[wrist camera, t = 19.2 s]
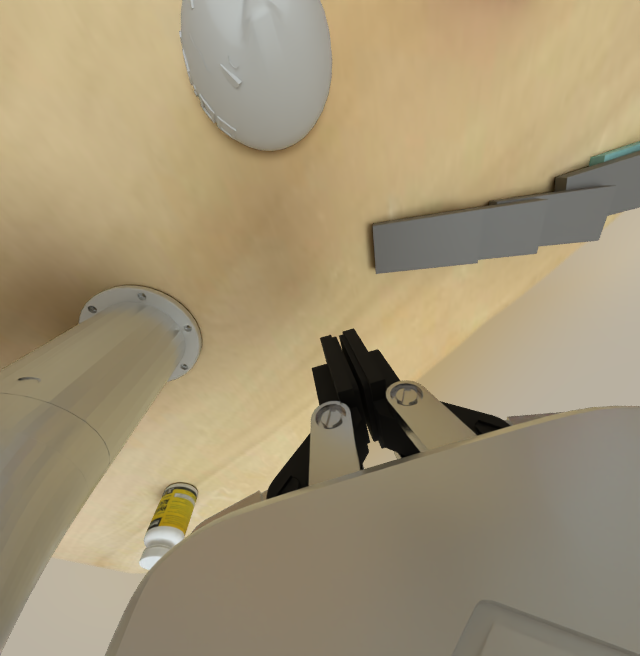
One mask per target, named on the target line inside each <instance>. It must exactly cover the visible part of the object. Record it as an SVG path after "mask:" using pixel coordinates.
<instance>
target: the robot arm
mask: <svg viewBox="0 0 640 656" xmlns="http://www.w3.org/2000/svg"><path fill="white" fill-rule="evenodd" d="M144 294H145V295H144ZM339 337H340V342H341V346H342V349H341V346H340V344H339V342H338V340H337V337H332V336H331V335H329V336H325V337H321V338H320V340H321V343H322V347H323V351H324V355H325V358H326V362H327V364H324V365H321V366H317V367H314V368H312V372H313V376H314V381H315V386H316V391H317V396H318V400H319V405H320V406H318V407H317V408H316V409H315V410H314V412H313V414H312V417H311V433H310V434H309V435H308V437H307V438H306V439H305V440H304V442H303V443H302V444H301V445H300V447H299V448H298V449H297V451H296V452H295V453H294V454H293V456H292V457H291V458H290V459H289V461H288V462H287V463H286V465H285V466H284V467H283V468H282V470H281V471H280V472H279V473H278V475H277V476H276V477H275V479H274V480H273V481H272V483H271V485H270V486H269V488H268V490H266V491H265V492H263V493H261V492H260V491H257V492H256V493H254V494H252V495H250V496H248V497H246V498H245V499H243V500H241V501H239V502H237V503H235V504H234V505H232V506H230V507H228V508H226V509H224V510H223V511H221V512H219V513H217V514H215V515H213V516H212V517H210V518H208V519H206V520H204V521H203V522H202V523H200V524H199V525H198V526H197V527H196V528H195V529H194V530H193V531H192V533H191V534H190V535H189V536H187V537H186V538H184V539H183V540H182V541H180V542H179V543H178V544H176V545H175V546H174V547H172V548H171V549H170V550H169V551H168V552H167V553H165V554H164V555H163V556H162V557H161V558H160V559H159V560H158V561H157V562H156V563H155V564H154V565H153V567H152V568H151V569H150V570H149V571H148V572H147V574H146V575H145V577H144V578H143V580H142V581H141V582H140V584H139V585H138V587H137V589H136V591H135V592H134V594H133V596H132V598H131V600H130V602H129V604H128V606H127V608H126V610H125V611H124V614H123V616H122V618H121V620H120V622H119V625H118V627H117V629H116V631H115V633H114V635H113V638H112V640H111V642H110V644H109V647H108V649H107V652H106V654H105V656H640V406H607V407H591V408H585V409H579V410H572V411H568V412H559V413H547V414H535V415H523V416H511V417H507V420H505V421H504V420H502V419H500V418H498V417H495V416H493V415H489V414H485V413H482V412H477V411H474V410H470V409H467V408H463V407H459V406H456V405H452V404H448V403H445V402H441V401H439V400H438V399H437V398H435V397H434V396H433V395H432V394H431V393H430V392H429V391H428V390H427V389H426V388H425V387H423V386H422V385H421V384H419V383H416V382H414V381H407V380H406V381H400V380H399V378H398V377H397V375H396V374H395V373H394V371H393V370H392V368H391V367H390V365H389V364H388V362H387V361H386V360H385V358H384V357H383V355H382V354H381V352H380V351H379V350H374V351H370V352H368V350H367V349H366V347H365V346H364V344H363V342H362V341H361V339H360V337H359V336H358V334H357V333H356V331H355V329H350V330H346V331H343V335H340V336H339ZM201 347H202V338H201V334H200V330H199V328H198V325H197V323H196V321H195V320H194V318H193V317H192V315H191V314H190V313H189V312H188V311H187V310H186V309H185V308H184V307H183V306H182V305H181V304H180V303H179V302H177V301H176V300H175V299H173V298H172V297H170V296H168V295H166V294H164V293H162V292H160V291H157V290H154V289H151V288H147V287H142V286H133V285H124V286H118V287H113V288H110V289H107V290H105V291H103V292H101V293H99V294H97V295H95V296H94V297H92V298H91V299H90V300H89V301H88V302H87V303H86V304H85V306H84V307H83V309H82V311H81V314H80V317H79V324H78V325H76V326H75V327H73V328H71V329H70V330H68V331H66V332H65V333H63V334H61V335H59V336H58V337H56V338H54V339H53V340H51V341H49V342H48V343H46V344H44V345H42V346H41V347H39V348H37V349H36V350H34V351H32V352H31V353H29V354H27V355H25V356H24V357H22V358H20V359H19V360H17V361H15V362H14V363H12V364H10V365H8V366H7V367H5V368H3V369H2V370H0V655H1V652H2V650H3V648H4V646H5V644H6V642H7V639H8V638H9V636H10V634H11V632H12V629H13V627H14V625H15V623H16V621H17V619H18V617H19V616H20V613H21V612H22V610H23V607H24V606H25V603H26V602H27V600H28V598H29V596H30V594H31V592H32V590H33V588H34V587H35V585H36V583H37V581H38V580H39V578H40V576H41V574H42V572H43V571H44V568H45V567H46V565H47V563H48V562H49V560H50V558H51V557H52V555H53V553H54V552H55V550H56V548H57V547H58V545H59V543H60V542H61V540H62V538H63V537H64V535H65V533H66V532H67V530H68V529H69V527H70V525H71V524H72V522H73V521H74V519H75V518H76V516H77V515H78V513H79V512H80V510H81V508H82V507H83V505H84V504H85V502H86V501H87V499H88V498H89V496H90V495H91V493H92V492H93V490H94V489H95V487H96V486H97V484H98V483H99V481H100V480H101V478H102V477H103V475H104V474H105V473H106V471H107V470H108V468H109V467H110V465H111V464H112V463H113V461H114V460H115V458H116V457H117V455H118V454H119V452H120V451H121V449H122V448H123V446H124V445H125V443H126V442H127V440H128V439H129V437H130V436H131V434H132V433H133V431H134V430H135V428H136V427H137V425H138V424H139V422H140V421H141V419H142V418H143V416H144V415H145V413H146V412H147V410H148V409H149V408H150V406H151V405H152V403H153V402H154V400H155V399H156V397H157V396H158V394H159V393H160V391H161V390H162V388H163V387H164V385H165V384H166V382H168V381H172V380H174V379H177V378H179V377H181V376H183V375H184V374H186V373H187V372H188V371H189V370H190V369H191V368H192V367H193V365H194V364H195V363H196V361H197V359H198V357H199V355H200V351H201ZM366 424H367V426H368V429H369V432H370V434H371V436H372V439H373V441H374V442H375V441H379V443H380V446H381V448H388V449H390V450H393V451H394V454H395V456H396V458H397V460H394V461H390V462H387V463H384V464H380V465H377V466H374V467H370V468H367V469H364V467H363V462H364V460H365V458H366V456H367V455H368V453H369V450H368V445H367V444H368V443H370V440H369V435H368V430H367V426H366Z"/></svg>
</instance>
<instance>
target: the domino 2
mask: <svg viewBox="0 0 640 656" xmlns="http://www.w3.org/2000/svg"><path fill="white" fill-rule="evenodd" d="M548 201H549V199H539V198H536V199H530V200H523V201H517V202H510V203H504V204H497V205H490V206H484V207H477V208H482V209H484V212H483V220H482V229H481V237H480V246H479V255H478V260H481V259H490V258H500V257H509V256H518V255H528V254H537V250H538V245H539V241H540V236H541V232H542V228H543V223H544V219H545V214H546V210H547V206H548Z"/></svg>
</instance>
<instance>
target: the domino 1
mask: <svg viewBox="0 0 640 656" xmlns="http://www.w3.org/2000/svg"><path fill="white" fill-rule="evenodd" d="M483 212H484V209H482V208H477V207H475V208H469V209H463V210H456V211H450V212H443V213H437V214H431V215H424V216H418V217H411V218H405V219H399V220H392V221H386V222H379V223H373V238H374V252H375V266H376V274H379V273H388V272H398V271H407V270H417V269H426V268H436V267H445V266H454V265H464V264H473V263H478V255H479V246H480V237H481V229H482V220H483Z"/></svg>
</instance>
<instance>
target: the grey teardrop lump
mask: <svg viewBox="0 0 640 656" xmlns="http://www.w3.org/2000/svg"><path fill="white" fill-rule="evenodd" d="M179 32H180V39H181V43H182V48H183V49H182V50H183V55H184V59H185V64H186V68H187V72H188V76H189V79H190V83H191V85H193V87H194V89H195V90H194V92H195V94H196V97H197V96H198V97H199V99H200V102H201V107H202V108H203V110H204V111H205V113H206V114H207V115H208V117H209V118H210V119H211V120H212V122H213V123H215V122H216V123H217V127H218V128H219V129H221V130H222V131H223V132H224V133H226V134H227V135H228V136H230V137H231V138H233V139H234V140H236V141H238V142H240V143H242V144H244V145H246V146H248V147H251V148H254V149H258V150H264V151H275V150H281V149H285V148H287V147H290V146H292V145H294V144H296V143H297V142H298V141H300V140H301V139H302V138H304V137H305V136H306V135H307V134H308V133H309V131H310V130H311V129H312V128H313V127H314V125H315V123H316V122H317V120H318V118H319V116H320V115H321V113H322V111H323V108H324V105H325V103H326V100H327V97H328V94H329V88H330V83H331V78H332V52H331V42H330V33H329V28H328V24H327V20H326V16H325V12H324V9H323V7H322V4H321V2H320V0H182V9H181V31H179ZM204 107H205V108H204ZM206 110H207V111H206Z"/></svg>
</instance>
